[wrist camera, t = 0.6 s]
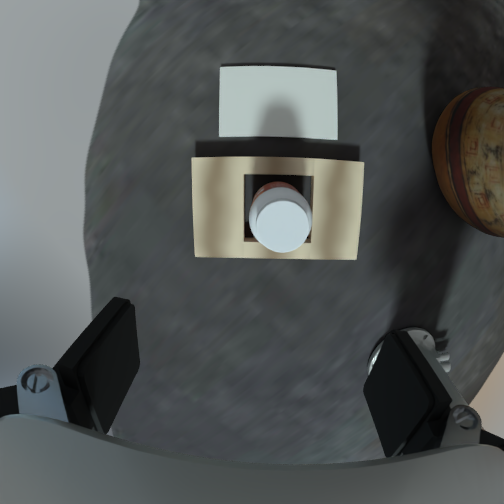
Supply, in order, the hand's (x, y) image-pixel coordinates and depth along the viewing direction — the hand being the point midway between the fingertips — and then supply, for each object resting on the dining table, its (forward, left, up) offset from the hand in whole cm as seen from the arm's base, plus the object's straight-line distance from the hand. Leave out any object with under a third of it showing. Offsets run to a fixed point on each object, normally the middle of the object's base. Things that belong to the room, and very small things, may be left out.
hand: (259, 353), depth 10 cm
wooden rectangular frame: (-2, -1, -27) cm, 27 cm away
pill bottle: (-2, -1, -27) cm, 27 cm away
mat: (-2, -14, -27) cm, 31 cm away
